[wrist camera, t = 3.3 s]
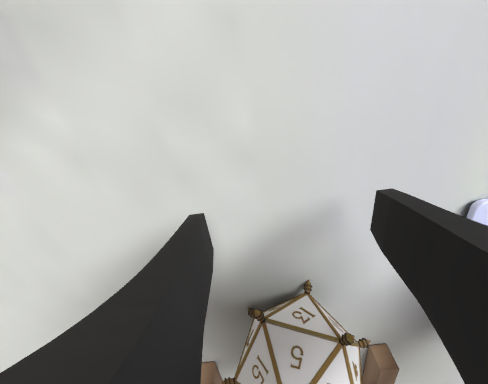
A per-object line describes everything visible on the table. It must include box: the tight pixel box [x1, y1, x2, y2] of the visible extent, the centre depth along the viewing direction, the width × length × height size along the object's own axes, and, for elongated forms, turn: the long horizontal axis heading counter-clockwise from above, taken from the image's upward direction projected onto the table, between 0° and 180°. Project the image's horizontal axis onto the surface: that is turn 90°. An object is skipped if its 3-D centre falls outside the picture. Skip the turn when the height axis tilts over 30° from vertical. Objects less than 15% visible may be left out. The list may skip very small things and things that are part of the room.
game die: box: [222, 280, 371, 384], centre depth 15 cm, size 9×8×10 cm
